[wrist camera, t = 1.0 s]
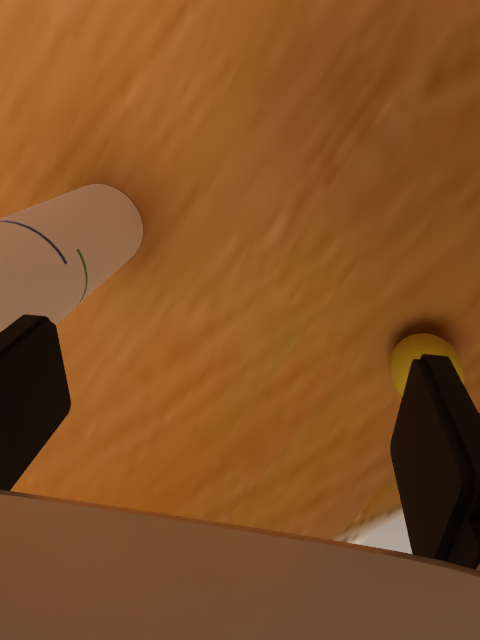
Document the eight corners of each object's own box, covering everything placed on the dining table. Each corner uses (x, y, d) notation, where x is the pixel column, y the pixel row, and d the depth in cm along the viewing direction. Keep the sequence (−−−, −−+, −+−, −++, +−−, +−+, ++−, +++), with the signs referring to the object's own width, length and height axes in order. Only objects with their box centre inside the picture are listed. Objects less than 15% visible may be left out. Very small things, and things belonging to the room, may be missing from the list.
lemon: (381, 370, 40) (396, 427, 33) (384, 318, 38) (402, 367, 31) (443, 370, 40) (472, 429, 32) (451, 317, 37) (485, 368, 30)
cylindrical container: (107, 166, 35) (-224, 277, 13) (159, 239, 38) (-52, 437, 16) (49, 211, 38) (-311, 367, 16) (100, 277, 40) (-152, 493, 18)
